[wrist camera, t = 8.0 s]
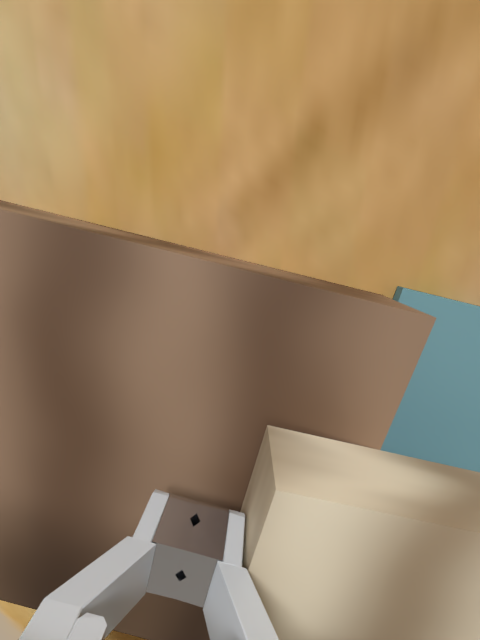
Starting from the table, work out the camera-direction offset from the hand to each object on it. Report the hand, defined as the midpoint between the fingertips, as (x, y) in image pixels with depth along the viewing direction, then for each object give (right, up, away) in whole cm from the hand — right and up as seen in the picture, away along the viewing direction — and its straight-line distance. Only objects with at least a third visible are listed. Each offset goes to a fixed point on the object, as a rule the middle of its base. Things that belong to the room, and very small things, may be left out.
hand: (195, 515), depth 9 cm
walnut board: (-4, +2, +5) cm, 7 cm away
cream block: (+6, -2, +1) cm, 6 cm away
